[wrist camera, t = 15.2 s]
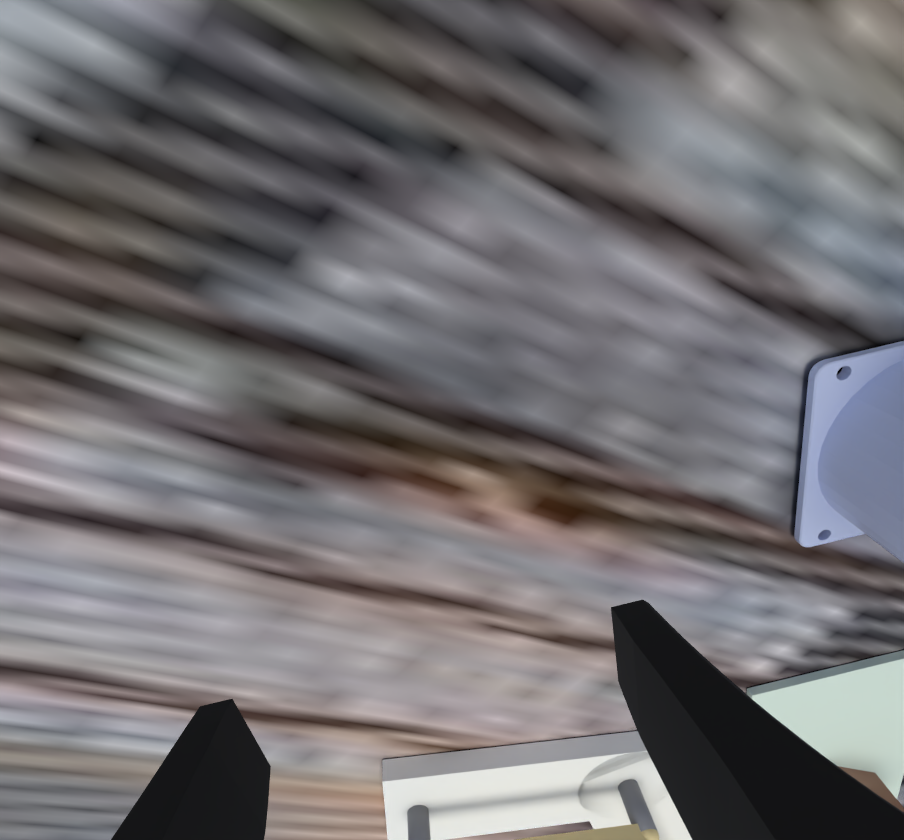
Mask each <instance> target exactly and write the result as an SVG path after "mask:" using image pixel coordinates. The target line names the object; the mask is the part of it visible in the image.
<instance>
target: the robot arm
mask: <svg viewBox="0 0 904 840" xmlns="http://www.w3.org/2000/svg"><path fill="white" fill-rule="evenodd" d="M841 367H843V368H842V371H841V372H840V373H839V374H838V375H837V372H838V370H839V369H840V368H841ZM862 534H866V535H868V536H869V537H870V538H872V539H873V540H874V541H876V542H877V543H878V544H879V545H881V546H882V547H883V548H885V549H886V550H887V551H889V552H890V553H891V554H893V555H894V556H895V557H896V558H898V559H899V560H900V561H902V562H903V563H904V341H901V342H897V343H892V344H888V345H884V346H880V347H875V348H871V349H867V350H863V351H858V352H854V353H850V354H846V355H841V356H837V357H833V358H829V359H824V360H822V361H819V362H818V363H816V364H815V365H814V366H813V367H812V369H811V370H810V373H809V377H808V388H807V399H806V411H805V422H804V433H803V444H802V455H801V466H800V477H799V488H798V499H797V511H796V522H795V533H794V537H795V540H796V541H797V542H798V543H799V544H800V545H802V546H803V547H812V546H817V545H821V544H825V543H829V542H833V541H837V540H841V539H846V538H850V537H854V536H858V535H862ZM611 612H612V622H613V632H614V642H615V652H616V661H617V671H618V681H619V684H620V687H621V689H622V692H623V695H624V697H625V700H626V702H627V705H628V708H629V710H630V713H631V715H632V718H633V720H634V723H635V725H636V728H637V730H638V733H639V735H640V738H641V740H642V742H643V744H644V746H645V748H646V750H647V752H648V754H649V756H650V758H651V760H652V762H653V764H654V766H655V768H656V770H657V772H658V773H659V775H660V777H661V779H662V781H663V783H664V785H665V787H666V789H667V791H668V793H669V795H670V797H671V799H672V801H673V803H674V805H675V807H676V809H677V811H678V813H679V815H680V817H681V819H682V821H683V823H684V824H685V826H686V828H687V830H688V832H689V834H690V836H691V838H692V840H904V812H902V811H901V810H899V809H898V808H896V807H895V806H894V805H892V804H891V803H889V802H888V801H886V800H885V799H883V798H882V797H880V796H879V795H877V794H876V793H874V792H873V791H872V790H870V789H869V788H867V787H866V786H865V785H863V784H862V783H860V782H859V781H858V780H856V779H855V778H853V777H852V776H851V775H849V774H848V773H846V772H845V771H843V770H842V769H841V768H839V767H838V766H837V765H835V764H834V763H833V762H831V761H830V760H829V759H827V758H826V757H824V756H823V755H822V754H821V753H819V752H818V751H817V750H815V749H814V748H813V747H811V746H810V745H809V744H807V743H806V742H805V741H803V740H802V739H801V738H800V737H798V736H797V735H796V734H795V733H793V732H792V731H791V730H790V729H788V728H787V727H786V726H784V725H783V724H782V723H781V722H779V721H778V720H777V719H776V718H774V717H773V716H772V715H771V714H769V713H768V712H767V711H766V710H765V709H763V708H762V707H761V706H760V705H759V704H757V703H756V702H755V701H754V700H753V699H751V698H750V697H749V696H748V695H747V694H746V693H744V692H743V691H742V690H741V689H740V688H739V687H737V686H736V685H735V684H734V683H733V682H732V681H731V680H729V679H728V678H727V677H726V676H725V675H724V674H722V673H721V672H720V671H719V670H718V669H717V668H716V667H715V666H713V665H712V664H711V663H710V662H709V661H708V660H707V659H706V658H705V657H703V656H702V655H701V654H700V653H699V652H698V651H697V650H696V649H695V648H694V647H693V646H692V645H691V644H690V643H688V642H687V641H686V640H685V639H684V638H683V637H682V636H681V635H680V634H679V633H678V632H677V631H676V630H675V629H674V628H673V627H672V626H671V625H670V624H669V623H668V622H667V621H666V620H665V619H664V618H663V617H662V616H661V615H660V614H659V613H658V612H657V611H656V610H655V609H654V608H653V607H652V606H651V605H650V604H649V603H648V602H646V601H644V600H640V601H635V602H631V603H627V604H623V605H619V606H615V607H611ZM270 767H271V766H270V765H269V763H268V761H267V759H266V758H265V756H264V754H263V752H262V750H261V749H260V747H259V745H258V743H257V742H256V740H255V738H254V736H253V735H252V733H251V731H250V729H249V727H248V726H247V724H246V722H245V720H244V719H243V717H242V715H241V713H240V711H239V710H238V708H237V706H236V704H235V703H234V701H233V699H229V700H225V701H221V702H217V703H213V704H208V705H204V706H200V707H199V709H198V710H197V712H196V713H195V715H194V716H193V718H192V719H191V721H190V722H189V724H188V725H187V727H186V728H185V730H184V731H183V733H182V734H181V736H180V737H179V739H178V740H177V742H176V743H175V745H174V746H173V748H172V749H171V751H170V752H169V754H168V755H167V757H166V758H165V760H164V761H163V763H162V765H161V766H160V768H159V769H158V771H157V772H156V774H155V775H154V777H153V778H152V780H151V781H150V783H149V784H148V786H147V787H146V789H145V790H144V792H143V793H142V795H141V796H140V798H139V799H138V801H137V802H136V804H135V805H134V807H133V808H132V810H131V811H130V813H129V814H128V816H127V817H126V818H125V820H124V821H123V823H122V824H121V826H120V827H119V829H118V830H117V832H116V833H115V835H114V836H113V838H112V839H111V840H264V835H265V829H266V818H267V808H268V796H269V781H270Z"/></svg>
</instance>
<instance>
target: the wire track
mask: <svg viewBox="0 0 904 840" xmlns="http://www.w3.org/2000/svg"><path fill="white" fill-rule="evenodd" d="M383 792H384V803H385V814H386V825H387V836H388V840H445V839H453V838H461V837H468V836H476V835H484V834H492V833H500V832H507V831H515V830H523V829H531V828H538V827H546V826H554V825H562V824H569V823H577V822H585V821H590V823H591V825H592V827H593V828H594V829H592V830H585V831H577V832H569V833H562V834H554V835H546V836H539V837H531V838H523V839H516V840H692V838H691V836H690V834H689V832H688V830H687V828H686V826H685V824H684V823H683V821H682V819H681V817H680V815H679V813H678V811H677V809H676V807H675V805H674V803H673V801H672V799H671V797H670V795H669V793H668V791H667V789H666V787H665V785H664V783H663V781H662V779H661V777H660V775H659V773H658V772H657V770H656V768H655V766H654V764H653V762H652V760H651V758H650V756H649V754H648V752H647V750H646V748H645V746H644V744H643V742H642V740H641V738H640V735H639V733H638V731H633V732H624V733H615V734H607V735H598V736H589V737H580V738H571V739H562V740H553V741H545V742H536V743H527V744H518V745H509V746H500V747H491V748H482V749H474V750H465V751H456V752H447V753H438V754H429V755H420V756H412V757H403V758H394V759H385V760H383Z"/></svg>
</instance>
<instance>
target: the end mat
mask: <svg viewBox="0 0 904 840" xmlns="http://www.w3.org/2000/svg"><path fill="white" fill-rule="evenodd" d="M747 695H748V696H749V697H750V698H751V699H753V700H754V701H755V702H756V703H757V704H759V705H760V706H761V707H762V708H763V709H765V710H766V711H767V712H768V713H769V714H771V715H772V716H773V717H774V718H776V719H777V720H778V721H779V722H781V723H782V724H783V725H784V726H786V727H787V728H788V729H790V730H791V731H792V732H793V733H795V734H796V735H797V736H798V737H800V738H801V739H802V740H803V741H805V742H806V743H807V744H809V745H810V746H811V747H813V748H814V749H815V750H817V751H818V752H819V753H821V754H822V755H823V756H824V757H826V758H827V759H829V760H830V761H831V762H833V763H834V764H835V765H837V766H839V767H845V768H851V769H857V770H863V771H868V772H874V773H876V774H877V776H878V777H879V778H880V779H881V781H882V782H883V783H884V784H885V785H886V787H887V788H888V789H889V790H890V792H891V793H892V794H893V795H894V797H895V798H896V799H897V797H898V793H899V789H900V786H901V782H902V778H903V774H904V650H902V651H898V652H894V653H890V654H886V655H882V656H878V657H873V658H869V659H865V660H861V661H857V662H853V663H849V664H845V665H841V666H837V667H833V668H829V669H824V670H820V671H816V672H812V673H808V674H804V675H800V676H796V677H792V678H788V679H784V680H779V681H775V682H771V683H767V684H763V685H759V686H755V687H751V688H747Z"/></svg>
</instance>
